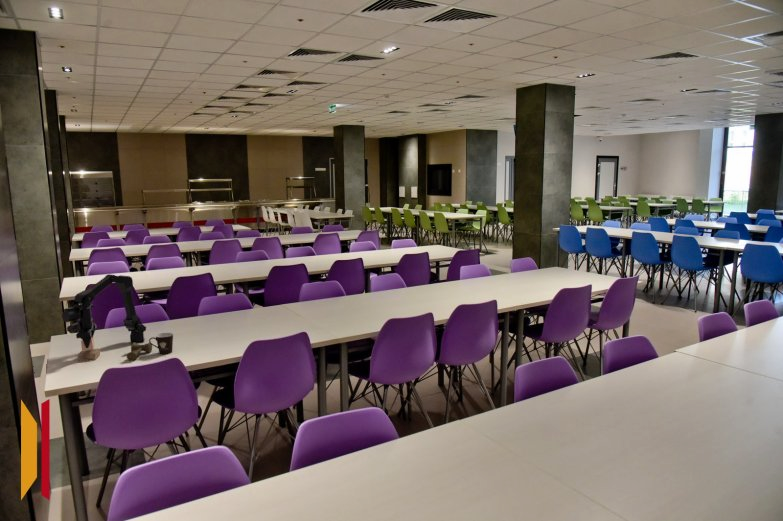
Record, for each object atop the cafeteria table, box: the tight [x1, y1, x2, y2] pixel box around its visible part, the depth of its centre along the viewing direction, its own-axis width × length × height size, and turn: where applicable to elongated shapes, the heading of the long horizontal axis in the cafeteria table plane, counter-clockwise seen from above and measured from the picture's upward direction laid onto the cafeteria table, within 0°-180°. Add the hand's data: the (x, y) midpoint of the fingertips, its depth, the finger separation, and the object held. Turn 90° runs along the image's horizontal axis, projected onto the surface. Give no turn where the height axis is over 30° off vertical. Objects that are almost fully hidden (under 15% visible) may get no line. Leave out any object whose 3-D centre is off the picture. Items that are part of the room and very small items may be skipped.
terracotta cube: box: [80, 336, 95, 351], centre depth 274 cm, size 5×5×5 cm
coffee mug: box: [148, 332, 174, 356], centre depth 283 cm, size 12×9×10 cm
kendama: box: [126, 342, 153, 362], centre depth 279 cm, size 6×10×20 cm
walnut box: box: [77, 348, 101, 362], centre depth 275 cm, size 8×8×4 cm
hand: (88, 346), depth 274 cm, fingers closed on terracotta cube, 5 cm apart
